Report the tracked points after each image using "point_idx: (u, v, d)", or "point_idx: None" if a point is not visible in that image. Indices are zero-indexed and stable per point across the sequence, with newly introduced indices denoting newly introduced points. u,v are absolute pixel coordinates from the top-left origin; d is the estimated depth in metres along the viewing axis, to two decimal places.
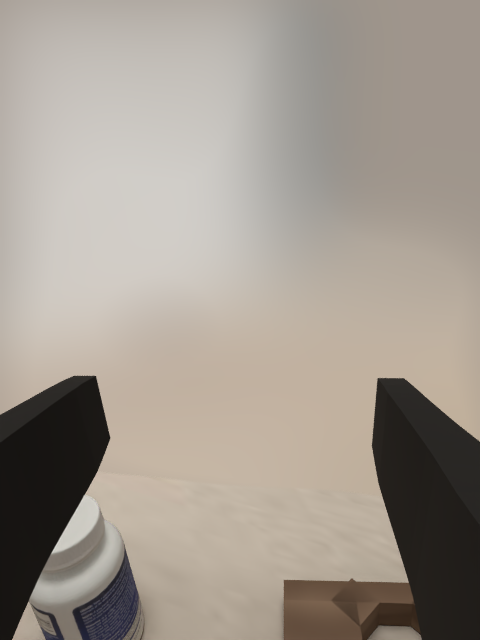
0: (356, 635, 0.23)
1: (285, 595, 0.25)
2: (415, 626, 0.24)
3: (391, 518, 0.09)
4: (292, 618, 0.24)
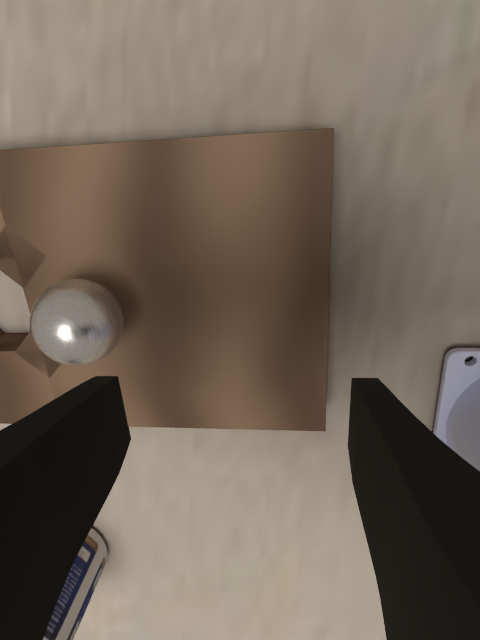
0: None
1: None
2: None
3: (362, 516, 0.09)
4: None
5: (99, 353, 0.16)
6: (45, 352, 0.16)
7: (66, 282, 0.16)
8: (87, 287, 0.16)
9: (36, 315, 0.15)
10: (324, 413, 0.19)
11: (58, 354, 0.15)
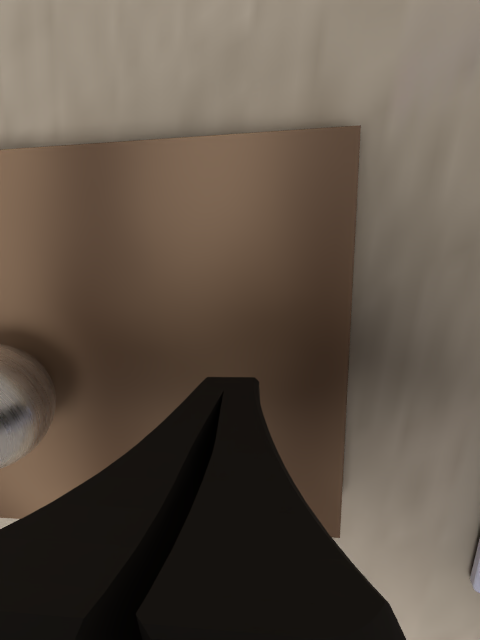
0: None
1: None
2: None
3: None
4: None
5: (12, 456, 0.11)
6: None
7: None
8: None
9: None
10: (338, 516, 0.14)
11: None
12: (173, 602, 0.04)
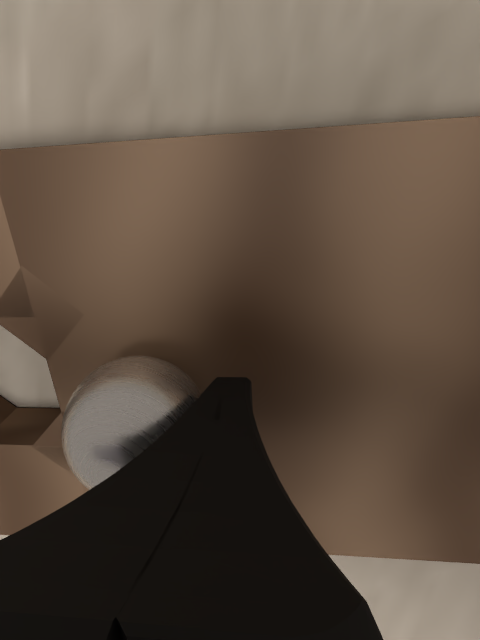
0: None
1: None
2: None
3: None
4: (5, 525, 0.15)
5: None
6: (87, 487, 0.09)
7: (122, 368, 0.09)
8: (157, 377, 0.09)
9: (74, 429, 0.09)
10: None
11: None
12: (152, 601, 0.04)
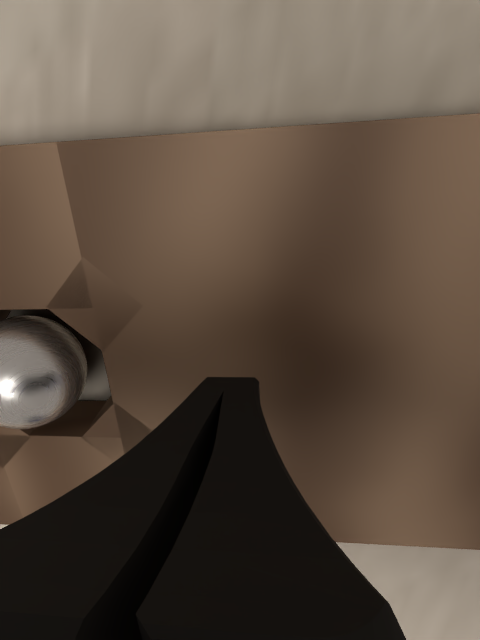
0: (45, 442, 0.14)
1: None
2: None
3: None
4: None
5: None
6: None
7: (13, 318, 0.12)
8: None
9: None
10: None
11: None
12: (173, 603, 0.04)
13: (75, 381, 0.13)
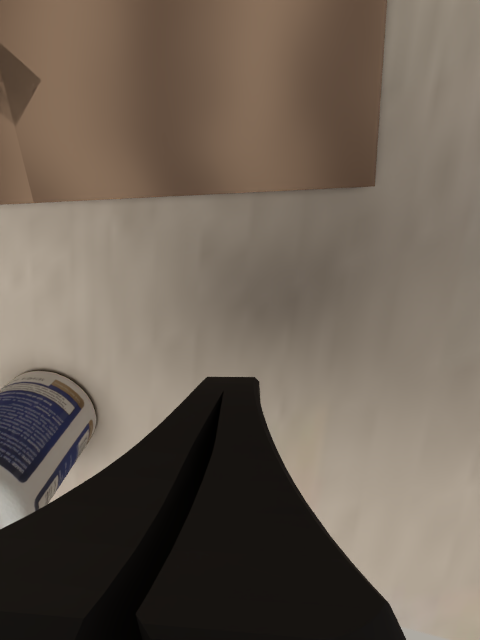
0: None
1: None
2: None
3: None
4: None
5: None
6: None
7: None
8: None
9: None
10: (374, 156, 0.15)
11: None
12: (173, 602, 0.04)
13: None
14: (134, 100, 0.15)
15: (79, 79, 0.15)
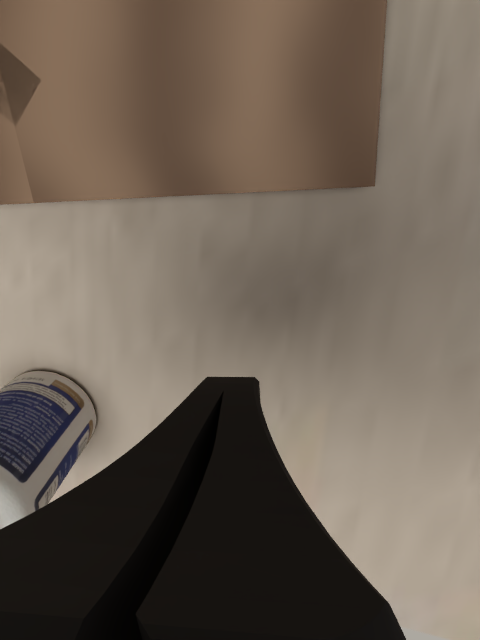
0: None
1: None
2: None
3: None
4: None
5: None
6: None
7: None
8: None
9: None
10: (374, 156, 0.15)
11: None
12: (173, 602, 0.04)
13: None
14: (134, 100, 0.15)
15: (79, 79, 0.15)
